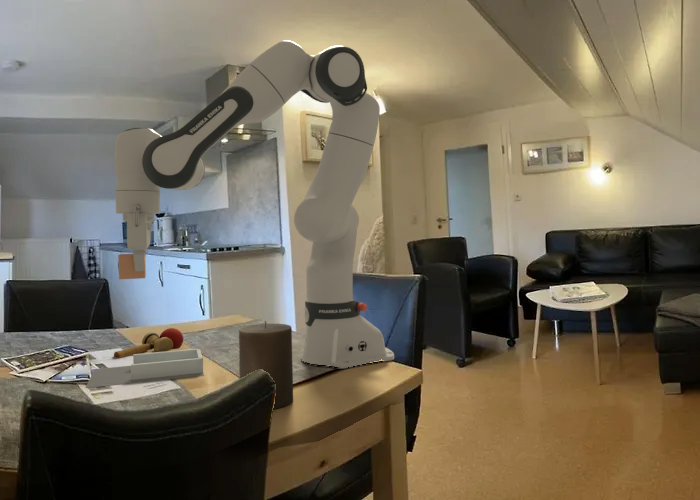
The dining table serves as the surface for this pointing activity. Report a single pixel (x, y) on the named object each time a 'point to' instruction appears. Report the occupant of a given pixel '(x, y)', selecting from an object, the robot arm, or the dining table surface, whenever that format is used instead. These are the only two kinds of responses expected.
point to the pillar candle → (269, 356)
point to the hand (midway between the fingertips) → (140, 269)
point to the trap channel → (151, 368)
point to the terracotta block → (129, 267)
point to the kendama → (155, 343)
